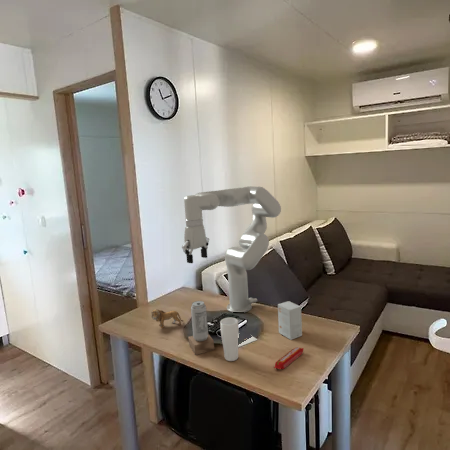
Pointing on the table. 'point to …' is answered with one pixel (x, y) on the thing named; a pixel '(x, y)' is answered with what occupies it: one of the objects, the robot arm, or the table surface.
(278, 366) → the candy bar
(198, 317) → the energy drink can
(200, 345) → the walnut brick
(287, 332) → the small box
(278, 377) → the table surface
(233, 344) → the drinking glass
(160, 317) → the lion figurine
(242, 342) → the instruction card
